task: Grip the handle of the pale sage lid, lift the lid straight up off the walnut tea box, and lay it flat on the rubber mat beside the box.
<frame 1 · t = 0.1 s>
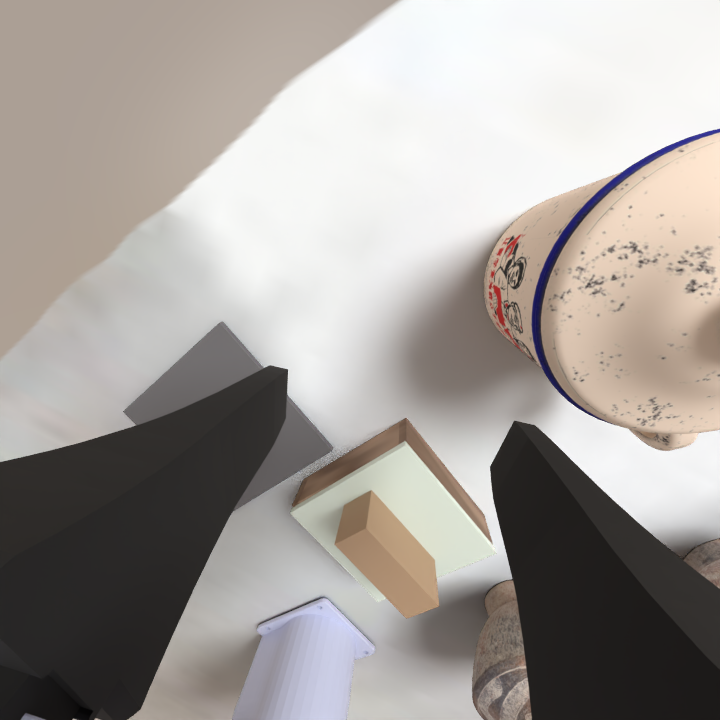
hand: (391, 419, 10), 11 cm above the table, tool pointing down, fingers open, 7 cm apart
pottery: (617, 582, 24), on the table
lid: (390, 526, 21), point 3 cm above the table, touching tea box
tea box: (391, 492, 24), on the table, touching lid
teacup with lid: (566, 302, 18), on the table
mat: (226, 427, 24), on the table
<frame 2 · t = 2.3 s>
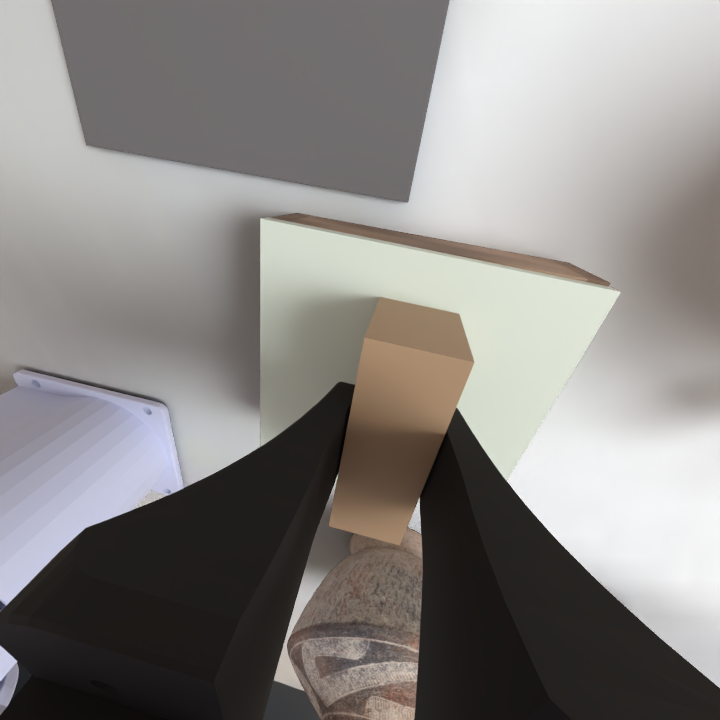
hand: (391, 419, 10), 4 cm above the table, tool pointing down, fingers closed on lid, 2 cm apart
pottery: (493, 585, 21), on the table
lid: (394, 390, 11), point 3 cm above the table, touching gripper, tea box
tea box: (400, 350, 14), on the table, touching lid
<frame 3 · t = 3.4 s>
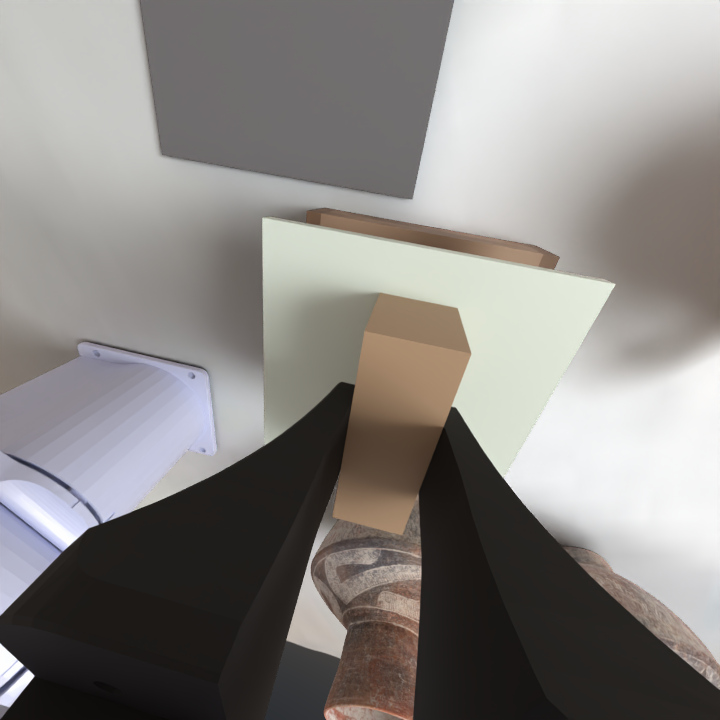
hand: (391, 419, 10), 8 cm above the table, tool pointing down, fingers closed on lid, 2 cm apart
pottery: (484, 532, 24), on the table
lid: (395, 384, 12), point 6 cm above the table, touching gripper
tea box: (405, 320, 17), on the table
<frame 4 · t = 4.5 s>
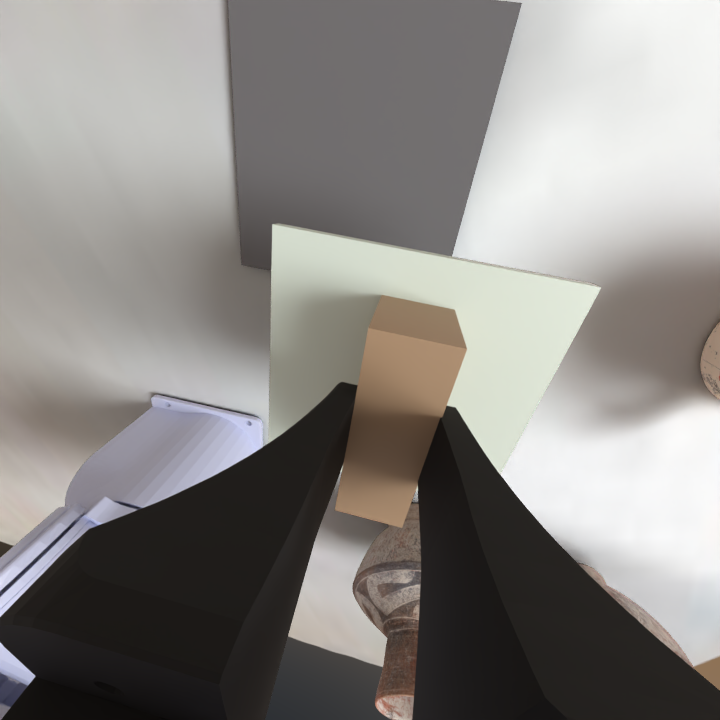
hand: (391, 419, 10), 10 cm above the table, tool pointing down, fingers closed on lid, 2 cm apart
pottery: (494, 549, 28), on the table
lid: (396, 383, 12), point 8 cm above the table, touching gripper
mat: (351, 164, 16), on the table
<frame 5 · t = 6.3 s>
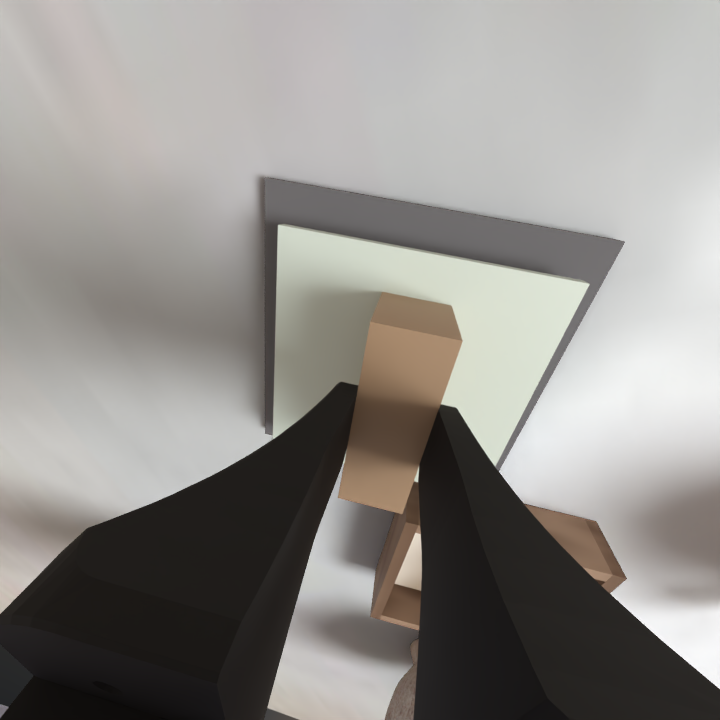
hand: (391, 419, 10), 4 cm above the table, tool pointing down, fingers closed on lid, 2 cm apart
pottery: (524, 679, 26), on the table
lid: (396, 377, 13), point 1 cm above the table, touching gripper, mat
tea box: (468, 542, 19), on the table
mat: (399, 358, 14), on the table
when the fingers open (4 cm above the table, at t = 6.7 s): lid stays where it is, resting on mat.
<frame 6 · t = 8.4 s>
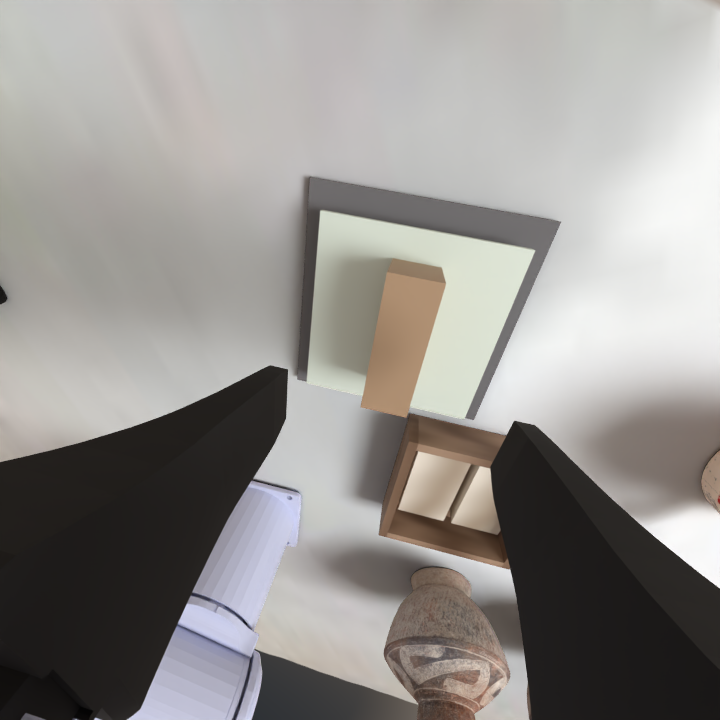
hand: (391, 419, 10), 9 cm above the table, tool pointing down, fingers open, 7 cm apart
pottery: (508, 607, 31), on the table
lid: (401, 324, 17), point 1 cm above the table, touching mat
tea box: (458, 474, 24), on the table
mat: (403, 313, 18), on the table
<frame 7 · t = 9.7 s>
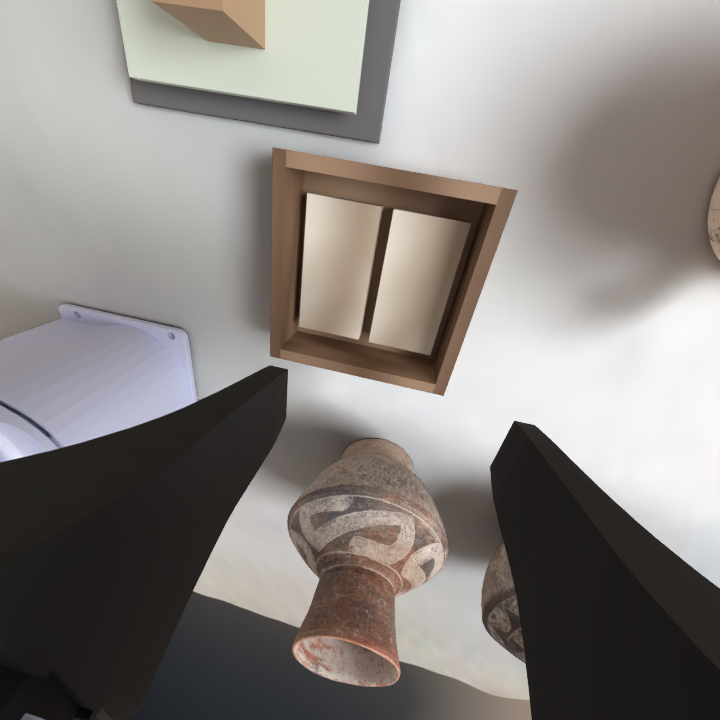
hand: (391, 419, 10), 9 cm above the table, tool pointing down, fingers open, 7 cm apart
pottery: (463, 497, 25), on the table
tea box: (378, 273, 18), on the table
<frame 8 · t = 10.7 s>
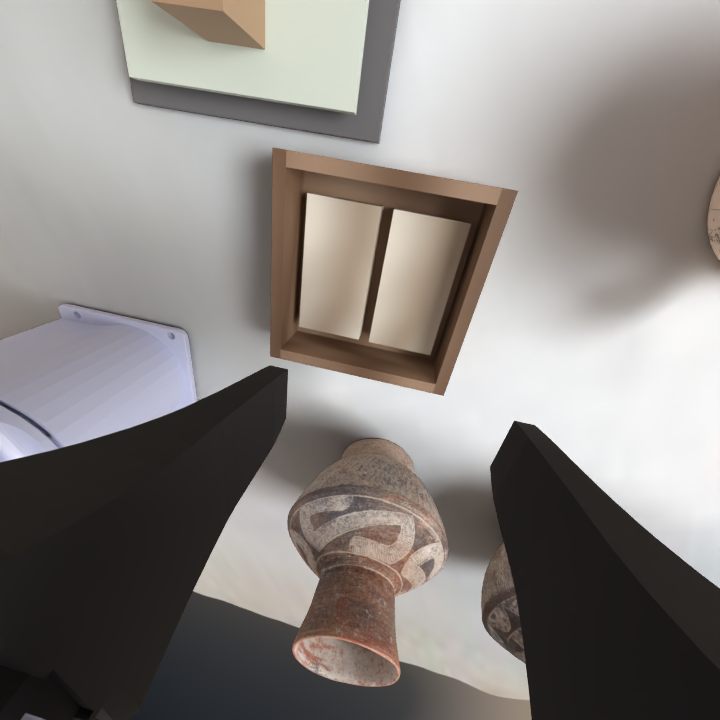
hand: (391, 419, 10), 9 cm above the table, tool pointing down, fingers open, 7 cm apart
pottery: (463, 497, 25), on the table
tea box: (378, 273, 18), on the table
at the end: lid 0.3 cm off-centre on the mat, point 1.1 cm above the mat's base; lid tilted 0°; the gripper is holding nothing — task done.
